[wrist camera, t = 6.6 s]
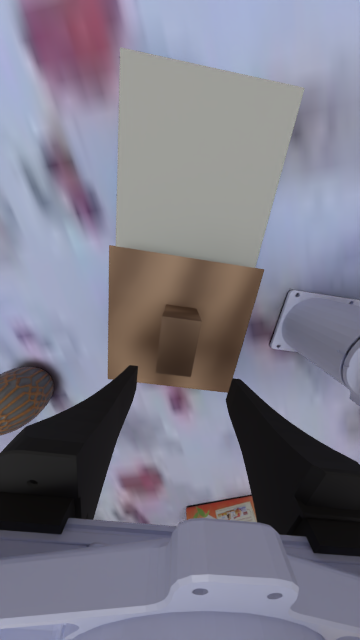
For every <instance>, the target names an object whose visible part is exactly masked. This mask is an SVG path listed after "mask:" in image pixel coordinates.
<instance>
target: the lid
mask: <svg viewBox="0 0 360 640" xmlns="http://www.w3.org/2000/svg"><path fill="white" fill-rule="evenodd" d="M263 272H264V269H258V268H252V267H245V266H239V265H233V264H226V263H220V262H213V261H207V260H201V259H194V258H188V257H181V256H175V255H169V254H162V253H156V252H149V251H143V250H137V249H130V248H124V247H118V246H111V245H109V320H108V379H115V378H116V377H117V376H118V375H119V374H121V373H122V372H123V371H124V370H125V369H126V368H127V367H128V366H129V365H134V366H138V374H137V382H140V383H149V384H157V385H166V386H175V387H183V388H192V389H201V390H210V391H218V392H227V393H228V391H229V388H230V385H231V381H232V378H233V375H234V372H235V368H236V365H237V361H238V358H239V355H240V351H241V348H242V344H243V341H244V337H245V334H246V331H247V327H248V324H249V320H250V317H251V313H252V310H253V307H254V303H255V300H256V296H257V293H258V289H259V286H260V283H261V279H262V276H263Z"/></svg>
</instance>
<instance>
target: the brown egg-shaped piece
mask: <svg viewBox="0 0 360 640" xmlns="http://www.w3.org/2000/svg"><path fill="white" fill-rule="evenodd" d="M52 393H53V381H52V378H51V376H50V375H49V374H48V373H47V372H46V371H44V370H42V369H40V368H35V367H20V368H15V369H12V370H9V371H7V372H4V373H2V374H0V435H4V434H7V433H10V432H12V431H15V430H17V429H19V428H21V427H22V426H24V425H26V424H27V423H29V422H30V421H31V420H33V419H34V418H35V417H36V416H37V415H38V414H39V413H40V412H41V411H42V410H43V409H44V408H45V406H46V405H47V404H48V402H49V400H50V398H51V396H52Z"/></svg>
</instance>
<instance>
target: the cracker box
mask: <svg viewBox="0 0 360 640" xmlns="http://www.w3.org/2000/svg"><path fill="white" fill-rule="evenodd" d="M186 516H187V520H188V519H194V518H210V519H222V520H234V521H246V522H257V519H256V513H255V508H254V503H253V498H252V496H247V497H242V498H236V499H231V500H226V501H220V502H215V503H210V504H204V505H199V506H193V507H188V508H186Z"/></svg>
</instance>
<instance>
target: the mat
mask: <svg viewBox="0 0 360 640" xmlns="http://www.w3.org/2000/svg"><path fill="white" fill-rule="evenodd" d="M303 92H304V88H302V87H298V86H293V85H289V84H284V83H280V82H275V81H270V80H266V79H261V78H257V77H252V76H248V75H243V74H239V73H234V72H230V71H225V70H220V69H216V68H211V67H207V66H202V65H198V64H193V63H189V62H184V61H180V60H175V59H170V58H166V57H161V56H157V55H152V54H148V53H143V52H139V51H134V50H130V49H125V48H120V84H119V128H118V171H117V215H116V246H118V247H124V248H130V249H137V250H143V251H149V252H156V253H162V254H169V255H175V256H181V257H188V258H194V259H201V260H207V261H213V262H220V263H226V264H233V265H239V266H245V267H252V268H255V266H256V263H257V259H258V255H259V252H260V248H261V244H262V241H263V237H264V234H265V230H266V226H267V223H268V219H269V215H270V212H271V208H272V204H273V201H274V197H275V194H276V190H277V186H278V183H279V179H280V175H281V172H282V168H283V164H284V161H285V157H286V154H287V150H288V146H289V143H290V139H291V135H292V132H293V128H294V124H295V121H296V117H297V114H298V110H299V106H300V103H301V99H302V95H303Z"/></svg>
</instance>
